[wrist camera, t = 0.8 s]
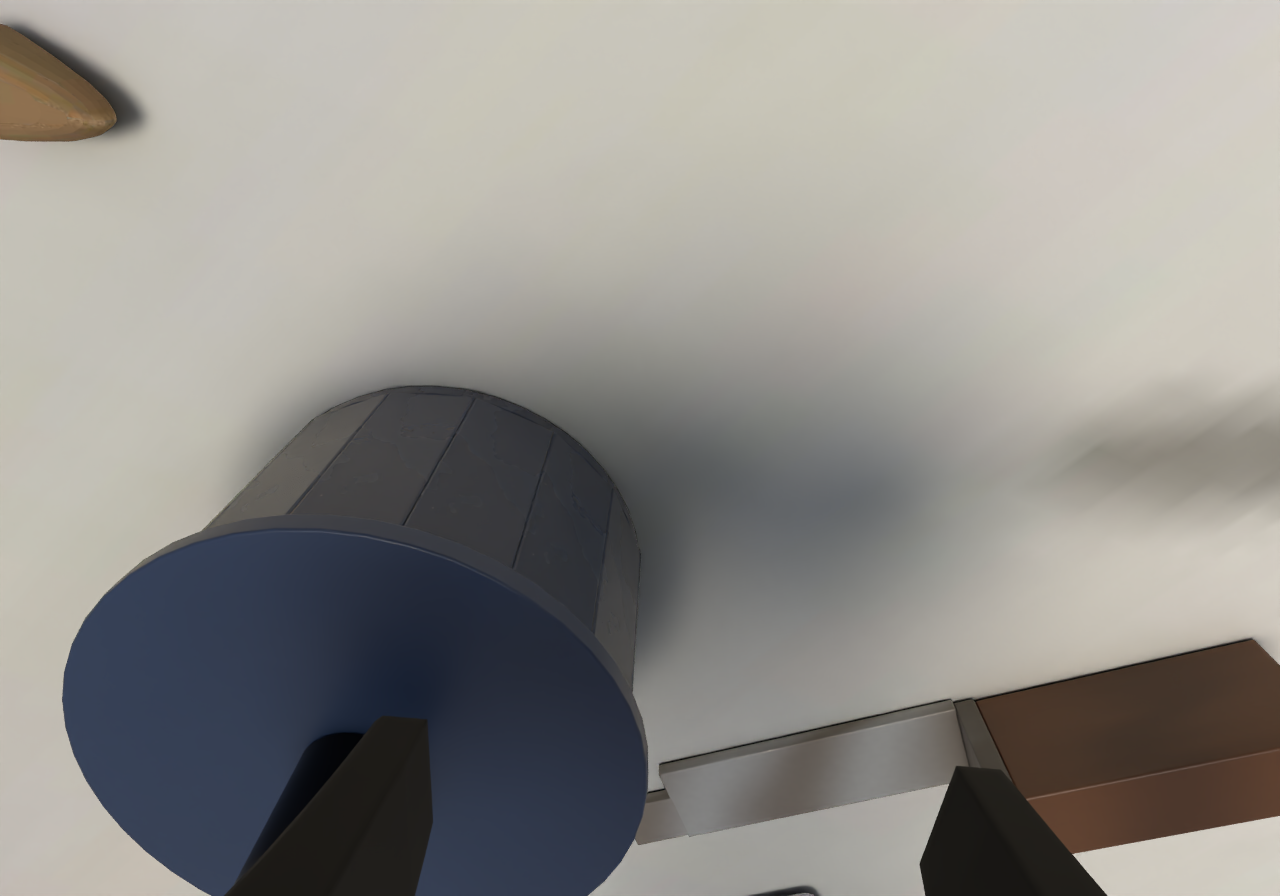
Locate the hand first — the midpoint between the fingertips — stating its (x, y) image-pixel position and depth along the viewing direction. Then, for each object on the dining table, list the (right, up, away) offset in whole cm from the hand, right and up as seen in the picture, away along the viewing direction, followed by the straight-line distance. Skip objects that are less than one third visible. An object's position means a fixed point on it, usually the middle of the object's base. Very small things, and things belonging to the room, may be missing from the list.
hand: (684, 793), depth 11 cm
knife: (+8, -4, +13) cm, 16 cm away
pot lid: (-6, -1, +5) cm, 8 cm away
